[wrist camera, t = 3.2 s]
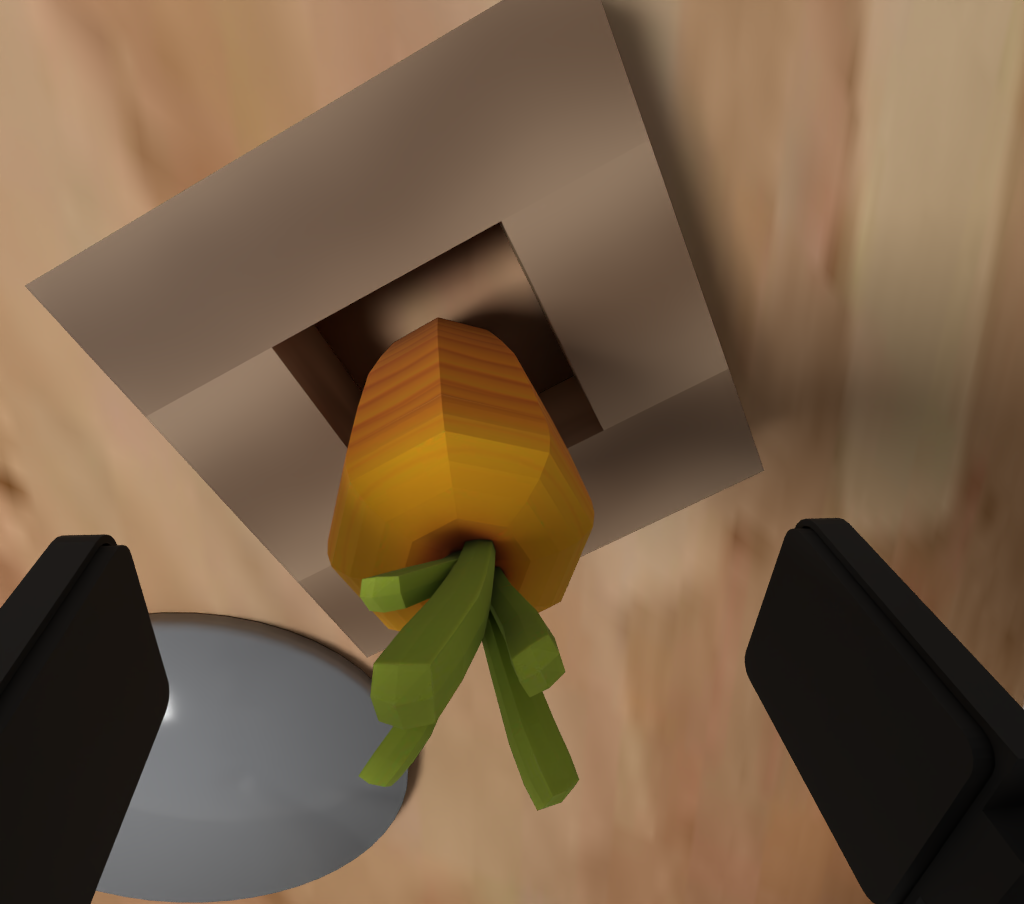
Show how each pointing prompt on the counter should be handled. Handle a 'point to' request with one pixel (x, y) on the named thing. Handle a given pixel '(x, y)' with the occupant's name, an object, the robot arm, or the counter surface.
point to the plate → (251, 767)
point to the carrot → (460, 542)
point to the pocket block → (401, 248)
